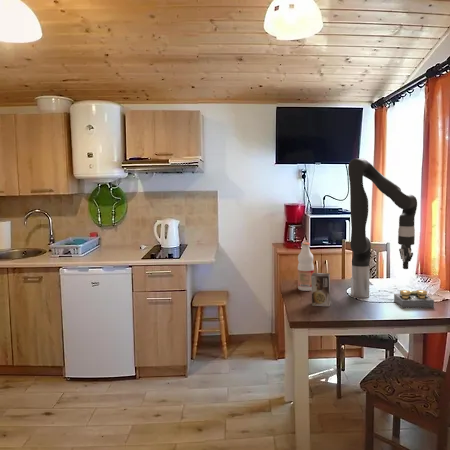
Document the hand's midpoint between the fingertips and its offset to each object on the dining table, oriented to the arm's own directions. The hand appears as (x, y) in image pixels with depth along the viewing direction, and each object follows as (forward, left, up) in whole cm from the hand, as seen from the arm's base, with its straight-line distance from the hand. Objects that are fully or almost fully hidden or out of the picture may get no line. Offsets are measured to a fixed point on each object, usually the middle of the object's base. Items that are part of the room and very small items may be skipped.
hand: (405, 268), depth 204 cm
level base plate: (+4, 0, -19) cm, 19 cm away
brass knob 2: (+8, 0, -19) cm, 20 cm away
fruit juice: (-46, +32, -19) cm, 59 cm away
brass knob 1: (0, 0, -19) cm, 19 cm away
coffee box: (-42, +2, -19) cm, 46 cm away
